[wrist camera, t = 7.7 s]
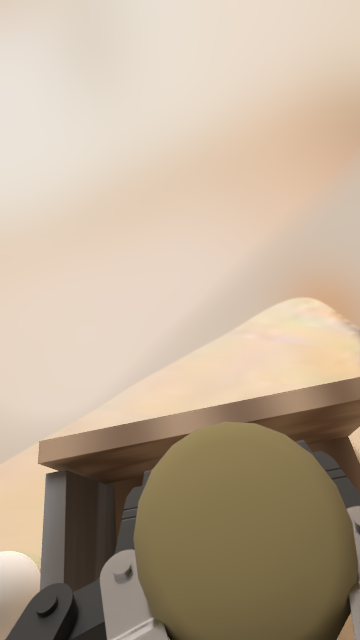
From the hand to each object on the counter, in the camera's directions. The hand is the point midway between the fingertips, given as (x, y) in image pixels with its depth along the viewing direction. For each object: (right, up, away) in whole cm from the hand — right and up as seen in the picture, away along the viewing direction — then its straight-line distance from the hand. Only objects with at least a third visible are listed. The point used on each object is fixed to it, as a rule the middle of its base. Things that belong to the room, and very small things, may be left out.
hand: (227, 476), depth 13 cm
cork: (+1, -4, +3) cm, 5 cm away
